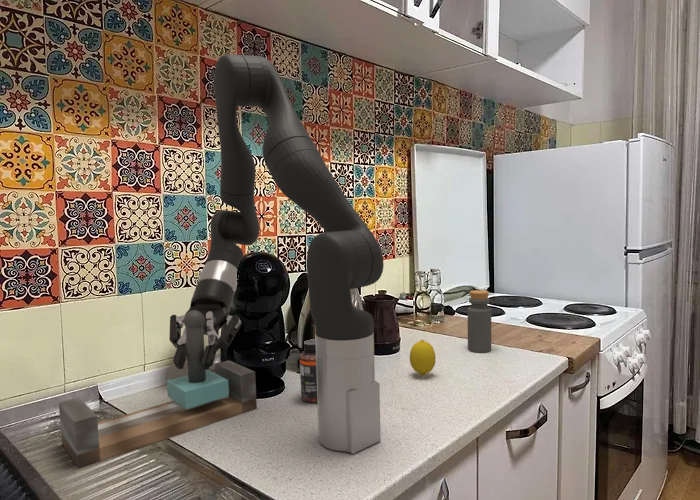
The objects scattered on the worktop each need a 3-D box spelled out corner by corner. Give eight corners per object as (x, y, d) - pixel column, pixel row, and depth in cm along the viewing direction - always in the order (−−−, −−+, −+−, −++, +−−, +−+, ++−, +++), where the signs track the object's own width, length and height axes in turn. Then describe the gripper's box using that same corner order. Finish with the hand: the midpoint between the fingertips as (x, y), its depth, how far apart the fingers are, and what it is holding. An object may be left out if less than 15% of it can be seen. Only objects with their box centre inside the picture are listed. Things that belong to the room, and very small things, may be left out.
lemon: (434, 371, 109) (434, 336, 108) (436, 380, 103) (436, 343, 103) (409, 371, 109) (409, 336, 109) (410, 380, 104) (409, 343, 103)
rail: (230, 394, 99) (228, 360, 98) (256, 408, 91) (255, 371, 91) (62, 445, 79) (58, 402, 78) (78, 468, 71) (74, 422, 71)
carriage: (208, 385, 94) (204, 304, 93) (228, 396, 88) (224, 310, 87) (167, 396, 89) (162, 311, 87) (186, 409, 83) (181, 317, 82)
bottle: (463, 348, 126) (462, 291, 125) (481, 345, 128) (480, 288, 127) (477, 354, 121) (477, 294, 119) (496, 350, 123) (496, 292, 122)
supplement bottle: (331, 391, 99) (329, 336, 98) (332, 403, 93) (330, 344, 92) (301, 392, 98) (299, 337, 97) (300, 404, 92) (298, 346, 91)
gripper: (175, 277, 95) (144, 356, 84) (245, 276, 93) (223, 358, 82) (189, 299, 101) (162, 376, 90) (255, 299, 99) (236, 377, 88)
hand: (191, 367), depth 86 cm, fingers open, 4 cm apart
